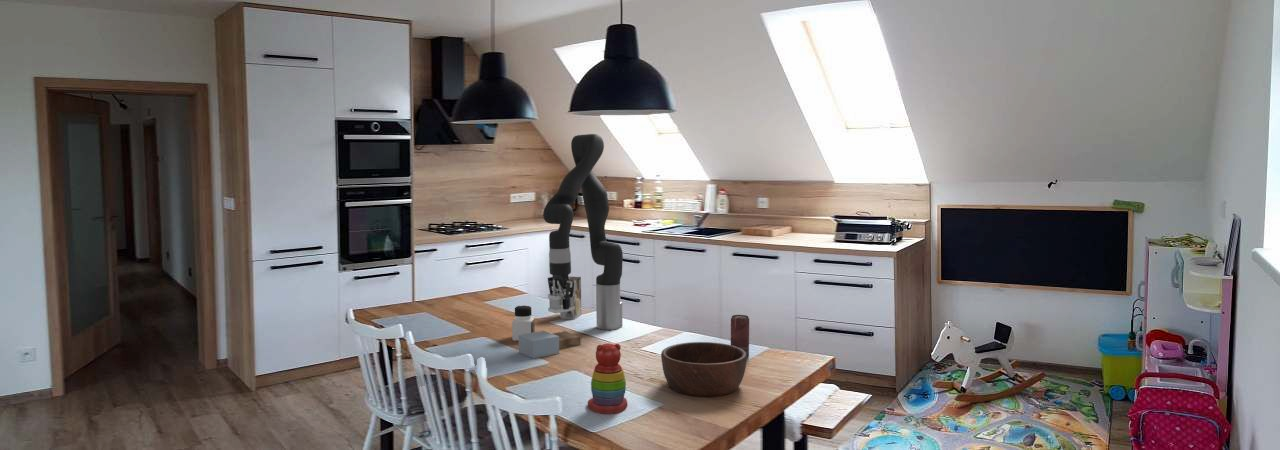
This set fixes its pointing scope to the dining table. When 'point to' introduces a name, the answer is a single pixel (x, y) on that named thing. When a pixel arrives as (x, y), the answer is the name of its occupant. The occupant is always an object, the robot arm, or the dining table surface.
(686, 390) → the wooden bowl
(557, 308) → the housing
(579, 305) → the coffee box
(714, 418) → the dining table surface
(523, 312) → the medicine bottle
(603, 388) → the stacking bear
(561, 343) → the stand
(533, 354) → the stand
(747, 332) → the can
